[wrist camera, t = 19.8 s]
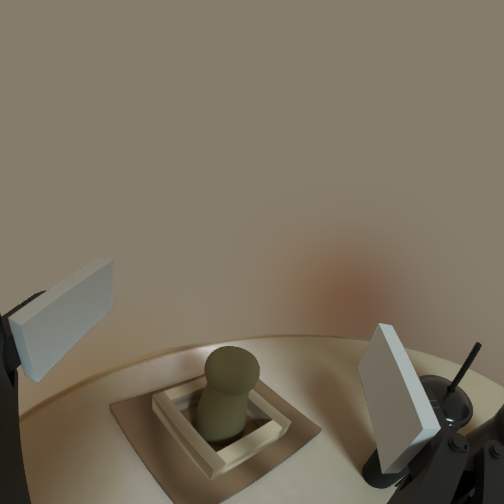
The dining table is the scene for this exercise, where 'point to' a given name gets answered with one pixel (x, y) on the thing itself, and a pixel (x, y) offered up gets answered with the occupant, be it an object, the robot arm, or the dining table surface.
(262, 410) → the well board
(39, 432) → the dining table surface
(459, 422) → the drinking cup
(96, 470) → the dining table surface
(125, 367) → the dining table surface
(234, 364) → the olive green peg doll
